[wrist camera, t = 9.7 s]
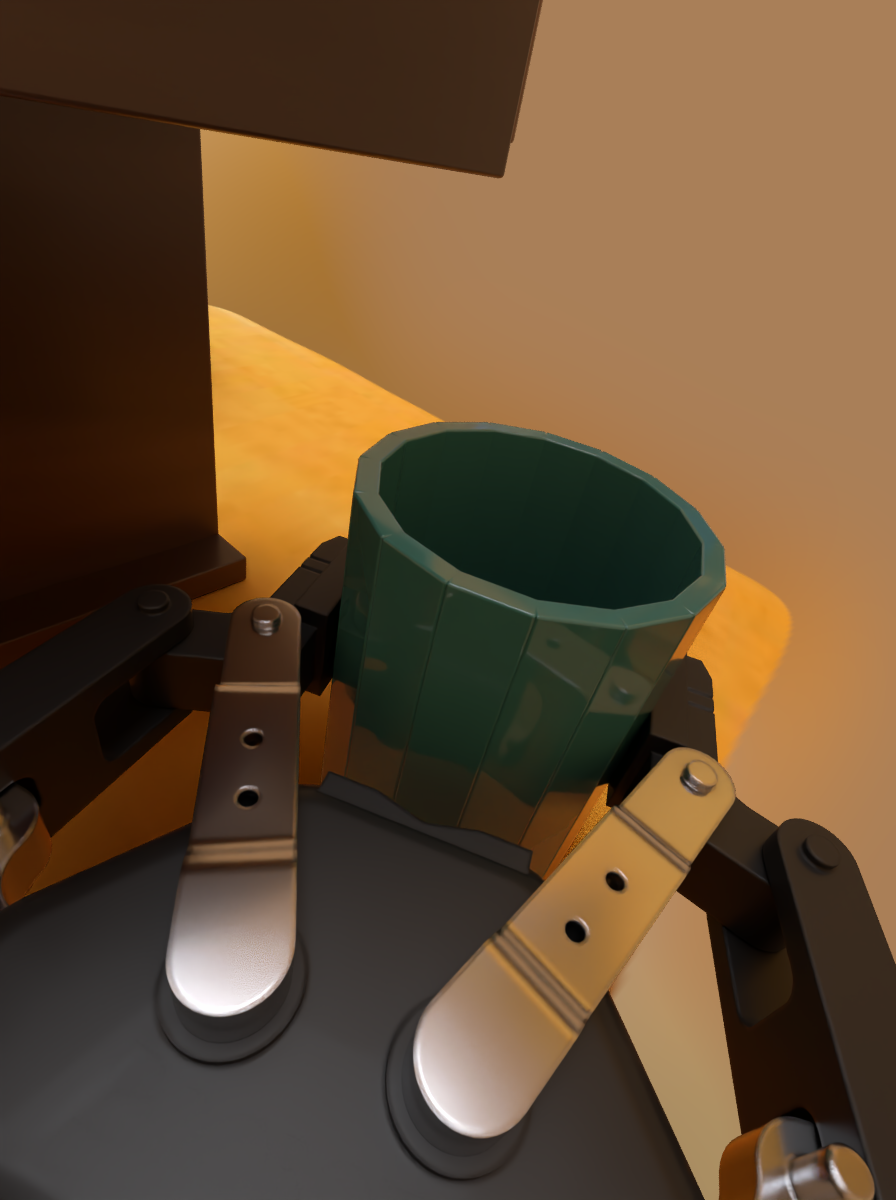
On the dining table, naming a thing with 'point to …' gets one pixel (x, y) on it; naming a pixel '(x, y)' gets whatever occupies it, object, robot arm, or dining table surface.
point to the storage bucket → (508, 625)
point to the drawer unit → (178, 248)
